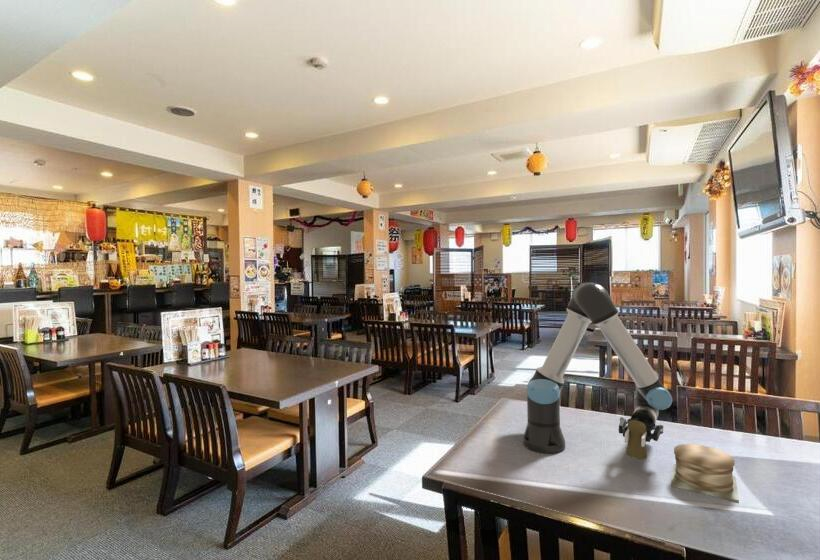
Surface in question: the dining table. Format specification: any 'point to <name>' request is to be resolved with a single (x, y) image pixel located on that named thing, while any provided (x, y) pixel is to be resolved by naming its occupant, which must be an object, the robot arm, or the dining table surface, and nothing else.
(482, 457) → the dining table surface
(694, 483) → the stack of pancakes
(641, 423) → the cork
